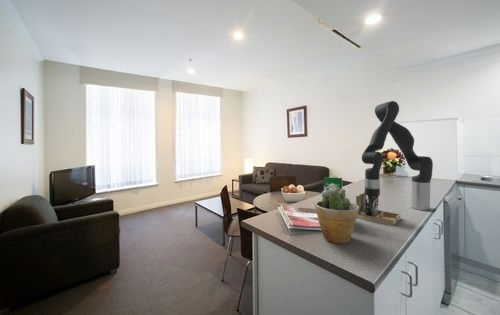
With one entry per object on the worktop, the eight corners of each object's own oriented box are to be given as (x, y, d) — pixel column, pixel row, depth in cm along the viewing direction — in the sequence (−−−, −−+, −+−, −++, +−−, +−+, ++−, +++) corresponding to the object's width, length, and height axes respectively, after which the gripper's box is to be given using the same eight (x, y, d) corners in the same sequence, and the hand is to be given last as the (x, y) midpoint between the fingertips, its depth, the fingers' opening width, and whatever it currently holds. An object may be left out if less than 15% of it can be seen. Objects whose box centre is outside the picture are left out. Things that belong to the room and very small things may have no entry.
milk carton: (342, 218, 122) (342, 175, 121) (342, 224, 114) (341, 177, 112) (325, 216, 126) (325, 174, 124) (324, 222, 118) (323, 177, 116)
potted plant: (310, 230, 107) (310, 181, 106) (348, 229, 107) (348, 180, 105) (322, 247, 89) (321, 188, 87) (367, 247, 88) (367, 187, 87)
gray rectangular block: (369, 214, 125) (369, 204, 125) (377, 216, 122) (377, 206, 121) (366, 216, 122) (366, 206, 122) (375, 218, 119) (375, 208, 118)
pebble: (360, 215, 124) (360, 210, 124) (366, 217, 121) (366, 211, 121) (358, 217, 122) (358, 211, 121) (364, 218, 119) (364, 213, 119)
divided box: (365, 212, 131) (365, 191, 130) (400, 219, 118) (400, 196, 117) (356, 218, 121) (356, 196, 121) (393, 226, 108) (393, 201, 107)
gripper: (369, 184, 128) (369, 211, 129) (360, 188, 119) (360, 217, 120) (383, 185, 123) (383, 213, 124) (375, 189, 113) (375, 220, 114)
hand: (372, 215), depth 122 cm, fingers open, 7 cm apart
